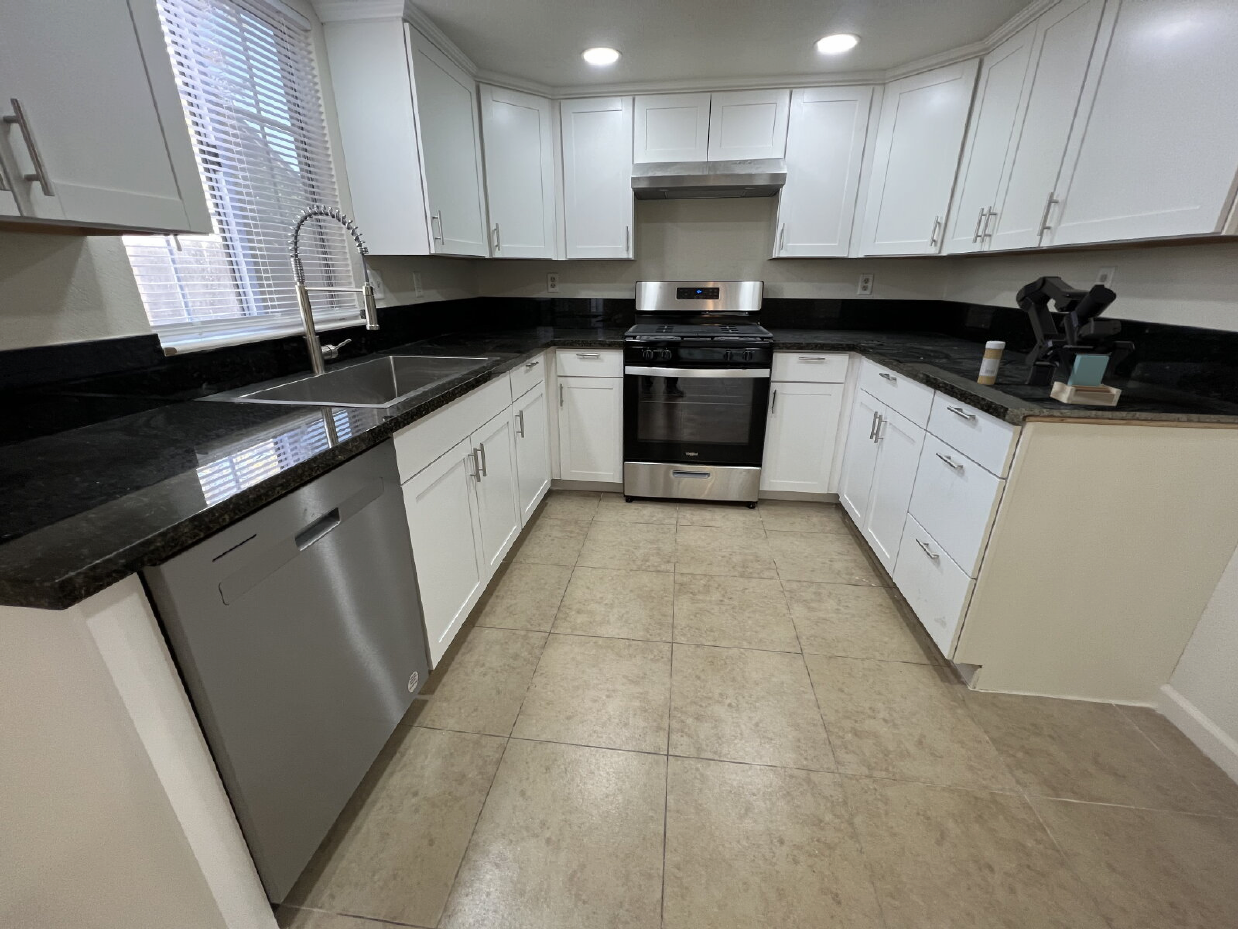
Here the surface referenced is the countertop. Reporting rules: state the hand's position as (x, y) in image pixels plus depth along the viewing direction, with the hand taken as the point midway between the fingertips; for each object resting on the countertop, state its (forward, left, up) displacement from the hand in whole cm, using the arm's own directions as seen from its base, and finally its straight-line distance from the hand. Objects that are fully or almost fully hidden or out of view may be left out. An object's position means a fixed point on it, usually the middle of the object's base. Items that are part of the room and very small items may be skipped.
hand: (1089, 377), depth 129 cm
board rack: (0, 0, -7) cm, 7 cm away
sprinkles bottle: (-10, -23, -7) cm, 26 cm away
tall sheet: (-1, -1, -6) cm, 6 cm away
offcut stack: (+1, +1, -6) cm, 6 cm away
